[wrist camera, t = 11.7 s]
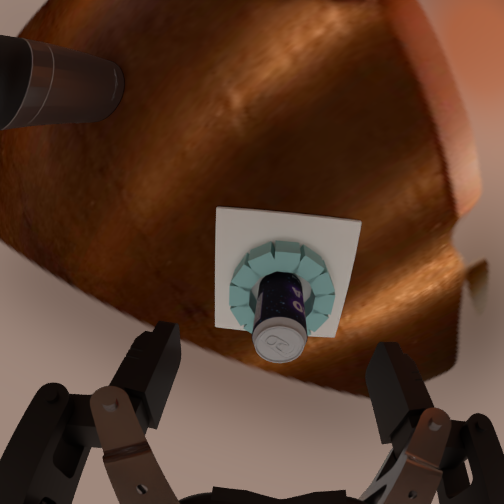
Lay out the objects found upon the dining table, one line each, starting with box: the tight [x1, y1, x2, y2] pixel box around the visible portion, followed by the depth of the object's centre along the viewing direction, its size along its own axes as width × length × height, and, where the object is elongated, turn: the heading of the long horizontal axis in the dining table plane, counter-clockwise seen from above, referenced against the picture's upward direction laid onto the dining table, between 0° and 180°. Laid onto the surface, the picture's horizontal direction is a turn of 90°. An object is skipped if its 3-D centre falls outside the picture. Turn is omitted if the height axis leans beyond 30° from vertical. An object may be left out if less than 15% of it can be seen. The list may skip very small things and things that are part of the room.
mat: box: [215, 206, 362, 337], centre depth 38 cm, size 18×18×1 cm
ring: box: [229, 240, 335, 336], centre depth 37 cm, size 13×13×4 cm
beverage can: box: [252, 271, 307, 363], centre depth 33 cm, size 6×6×12 cm
